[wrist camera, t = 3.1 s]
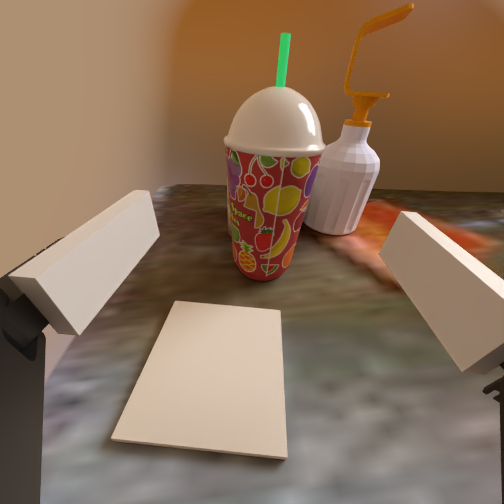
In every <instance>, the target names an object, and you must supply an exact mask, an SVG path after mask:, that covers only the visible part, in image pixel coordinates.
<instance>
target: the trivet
mask: <svg viewBox="0 0 504 504" xmlns="http://www.w3.org/2000/svg"><path fill="white" fill-rule="evenodd" d="M111 439H112V440H113V441H117V442H127V443H136V444H145V445H154V446H164V447H173V448H182V449H192V450H201V451H210V452H219V453H229V454H238V455H247V456H256V457H266V458H275V459H284V460H286V459H287V437H286V417H285V397H284V376H283V356H282V336H281V315H280V310H271V309H260V308H249V307H239V306H228V305H217V304H206V303H195V302H184V301H175V302H174V304H173V306H172V309H171V311H170V313H169V315H168V317H167V319H166V321H165V323H164V326H163V328H162V330H161V332H160V334H159V336H158V338H157V341H156V343H155V345H154V347H153V349H152V351H151V353H150V355H149V358H148V360H147V362H146V364H145V366H144V368H143V370H142V372H141V375H140V377H139V379H138V381H137V383H136V385H135V387H134V390H133V392H132V394H131V396H130V398H129V400H128V402H127V404H126V407H125V409H124V411H123V413H122V415H121V417H120V419H119V422H118V424H117V426H116V428H115V430H114V432H113V434H112V436H111Z"/></svg>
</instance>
